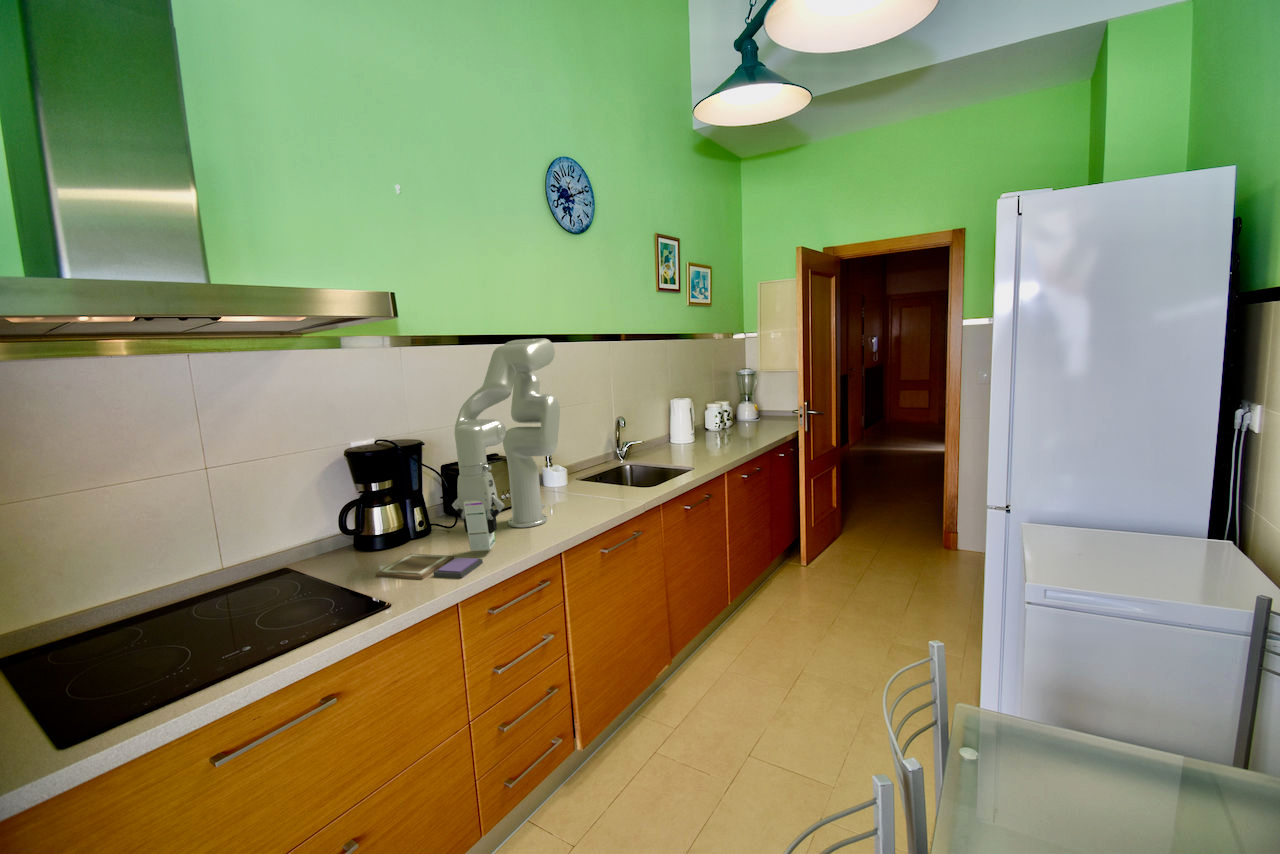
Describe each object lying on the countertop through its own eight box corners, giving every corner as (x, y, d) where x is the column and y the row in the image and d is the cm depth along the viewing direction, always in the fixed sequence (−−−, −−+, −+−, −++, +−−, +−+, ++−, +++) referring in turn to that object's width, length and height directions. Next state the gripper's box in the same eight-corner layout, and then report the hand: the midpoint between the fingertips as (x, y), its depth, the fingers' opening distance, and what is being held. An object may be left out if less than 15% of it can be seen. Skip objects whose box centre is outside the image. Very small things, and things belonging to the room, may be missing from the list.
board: (410, 556, 158) (410, 552, 158) (454, 558, 154) (453, 554, 154) (375, 576, 144) (375, 572, 144) (422, 579, 141) (421, 575, 140)
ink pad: (433, 576, 142) (433, 571, 142) (456, 561, 152) (455, 556, 151) (461, 578, 140) (461, 572, 140) (482, 563, 149) (482, 557, 149)
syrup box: (490, 550, 154) (484, 499, 152) (469, 551, 154) (463, 501, 152) (496, 542, 160) (490, 493, 157) (475, 543, 160) (469, 494, 157)
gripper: (508, 466, 154) (515, 527, 158) (453, 465, 159) (461, 525, 162) (495, 473, 147) (502, 537, 151) (438, 473, 152) (446, 535, 155)
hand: (481, 530), depth 156 cm, fingers closed on syrup box, 6 cm apart
